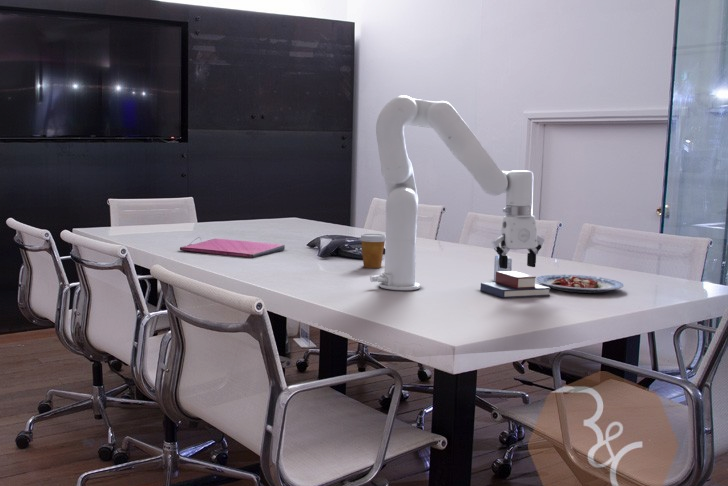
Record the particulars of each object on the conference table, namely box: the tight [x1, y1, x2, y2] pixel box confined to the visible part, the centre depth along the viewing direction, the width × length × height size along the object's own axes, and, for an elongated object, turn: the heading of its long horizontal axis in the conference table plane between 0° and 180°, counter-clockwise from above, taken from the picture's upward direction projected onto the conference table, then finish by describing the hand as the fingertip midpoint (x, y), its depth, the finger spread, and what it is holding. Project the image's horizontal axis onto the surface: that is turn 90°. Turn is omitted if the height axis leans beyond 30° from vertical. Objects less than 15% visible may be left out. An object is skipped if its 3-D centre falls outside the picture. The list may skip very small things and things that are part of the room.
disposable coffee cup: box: [359, 233, 386, 269], centre depth 283 cm, size 10×10×12 cm
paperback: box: [494, 270, 537, 289], centre depth 234 cm, size 6×11×4 cm, turn 14°
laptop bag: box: [179, 236, 286, 259], centre depth 327 cm, size 40×4×27 cm
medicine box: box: [493, 254, 513, 282], centre depth 252 cm, size 8×4×9 cm, turn 168°
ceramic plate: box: [535, 274, 625, 294], centre depth 243 cm, size 26×26×3 cm
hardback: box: [480, 281, 551, 299], centre depth 234 cm, size 16×12×2 cm
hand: (517, 267), depth 233 cm, fingers open, 9 cm apart
